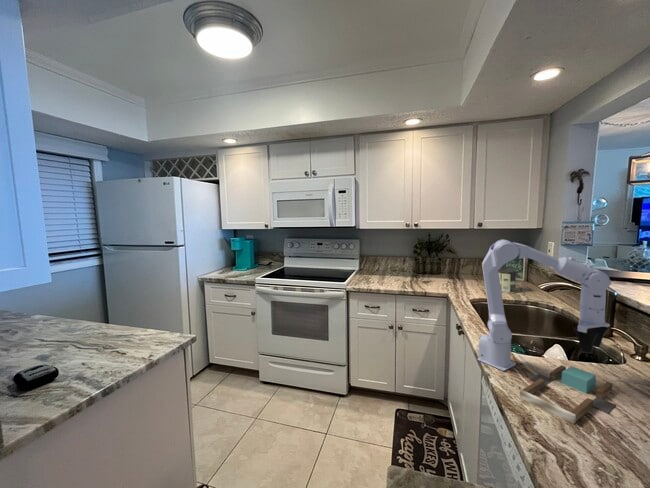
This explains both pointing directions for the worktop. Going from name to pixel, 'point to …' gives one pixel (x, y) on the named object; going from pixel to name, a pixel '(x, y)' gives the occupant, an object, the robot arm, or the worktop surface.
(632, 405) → the worktop surface
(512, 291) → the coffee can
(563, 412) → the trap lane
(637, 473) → the worktop surface
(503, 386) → the worktop surface
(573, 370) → the teal block
